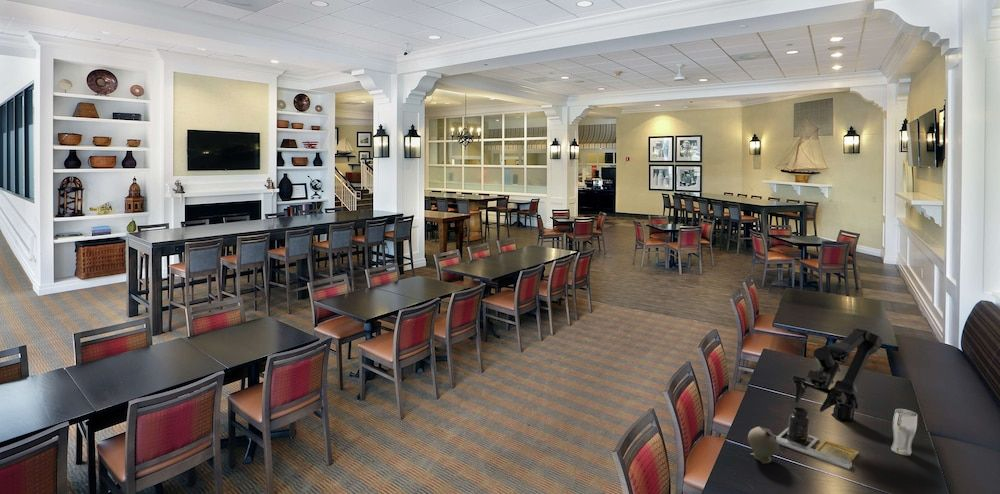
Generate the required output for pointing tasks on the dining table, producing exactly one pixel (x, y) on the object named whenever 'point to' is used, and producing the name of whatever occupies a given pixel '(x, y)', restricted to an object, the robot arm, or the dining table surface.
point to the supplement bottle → (798, 426)
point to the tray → (822, 450)
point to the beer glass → (903, 431)
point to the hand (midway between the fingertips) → (808, 406)
